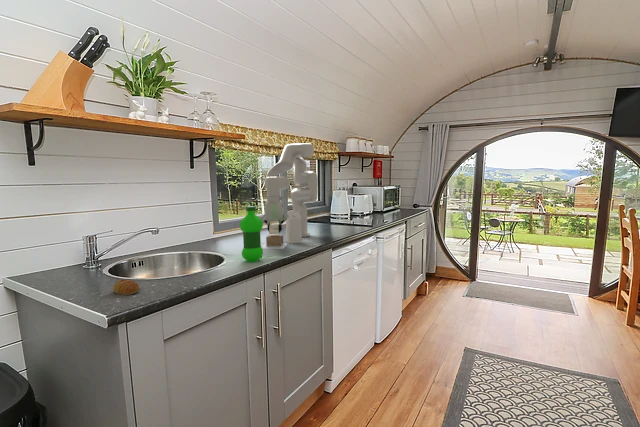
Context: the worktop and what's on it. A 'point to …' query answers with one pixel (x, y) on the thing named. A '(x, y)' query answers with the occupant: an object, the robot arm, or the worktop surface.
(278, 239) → the walnut base block
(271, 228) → the cream cube
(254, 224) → the plastic bottle
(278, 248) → the blueprint board
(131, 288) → the pastry
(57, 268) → the worktop surface
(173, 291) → the worktop surface
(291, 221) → the milk carton
